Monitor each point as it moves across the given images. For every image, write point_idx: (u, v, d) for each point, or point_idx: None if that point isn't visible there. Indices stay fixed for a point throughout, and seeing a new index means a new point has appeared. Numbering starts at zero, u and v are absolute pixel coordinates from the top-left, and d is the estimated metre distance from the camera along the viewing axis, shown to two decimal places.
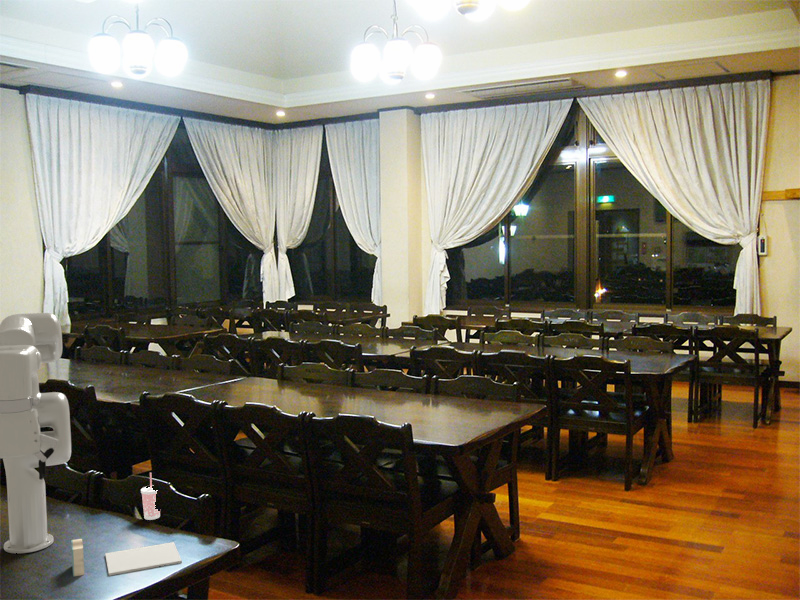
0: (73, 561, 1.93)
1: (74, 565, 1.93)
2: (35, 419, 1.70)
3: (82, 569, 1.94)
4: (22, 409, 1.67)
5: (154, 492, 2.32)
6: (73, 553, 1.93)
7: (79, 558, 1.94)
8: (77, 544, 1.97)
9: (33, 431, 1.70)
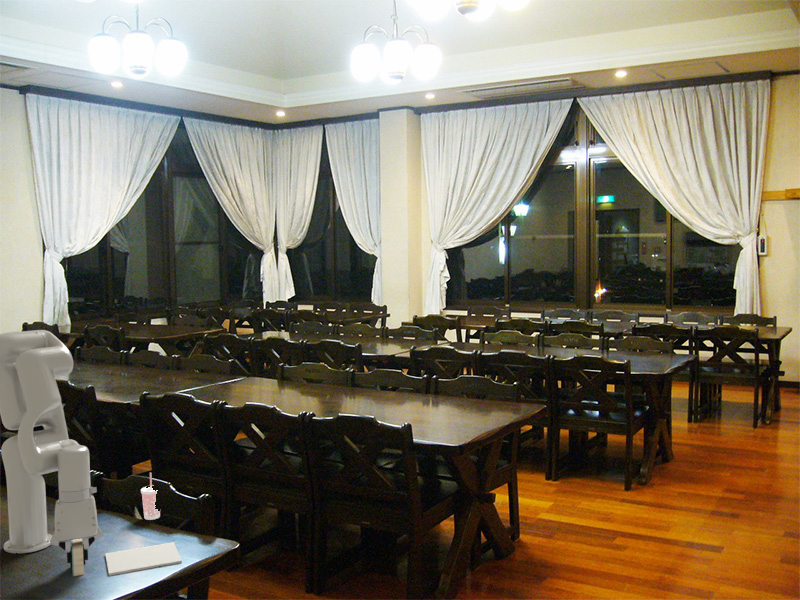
0: (73, 561, 1.93)
1: (74, 565, 1.93)
2: (93, 506, 1.96)
3: (82, 569, 1.94)
4: (83, 498, 1.93)
5: (154, 492, 2.32)
6: (73, 553, 1.93)
7: (79, 557, 1.94)
8: (77, 543, 1.97)
9: (91, 516, 1.96)
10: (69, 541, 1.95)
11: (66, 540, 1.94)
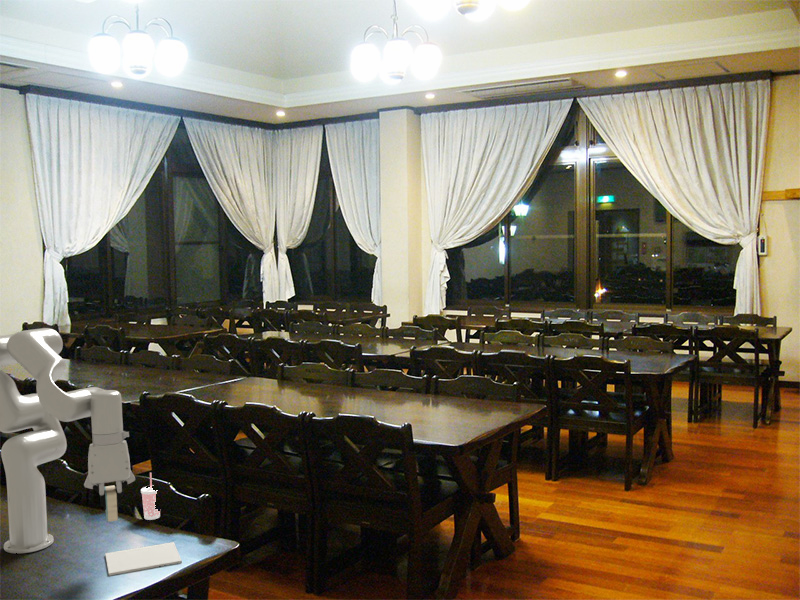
0: (107, 507, 1.96)
1: (108, 511, 1.96)
2: (126, 450, 1.98)
3: (116, 515, 1.97)
4: (116, 441, 1.96)
5: (154, 492, 2.32)
6: (107, 499, 1.95)
7: (113, 504, 1.96)
8: (110, 490, 1.99)
9: (124, 460, 1.98)
10: (103, 484, 1.97)
11: (100, 483, 1.96)
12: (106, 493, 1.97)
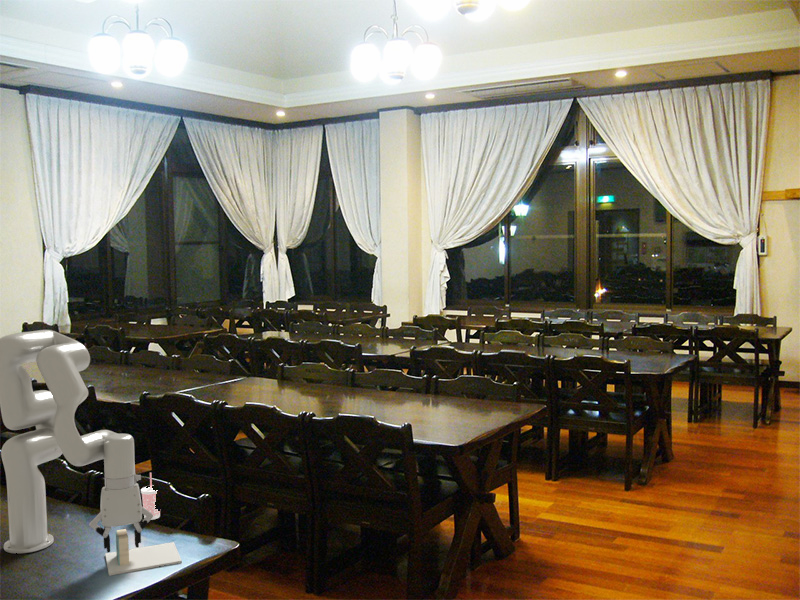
0: (119, 550, 1.98)
1: (120, 554, 1.98)
2: (138, 493, 2.00)
3: (127, 558, 1.99)
4: (128, 485, 1.98)
5: (154, 492, 2.32)
6: (119, 543, 1.98)
7: (125, 547, 1.99)
8: (122, 533, 2.01)
9: (136, 503, 2.00)
10: (109, 527, 1.98)
11: (112, 526, 1.98)
12: (118, 537, 1.99)
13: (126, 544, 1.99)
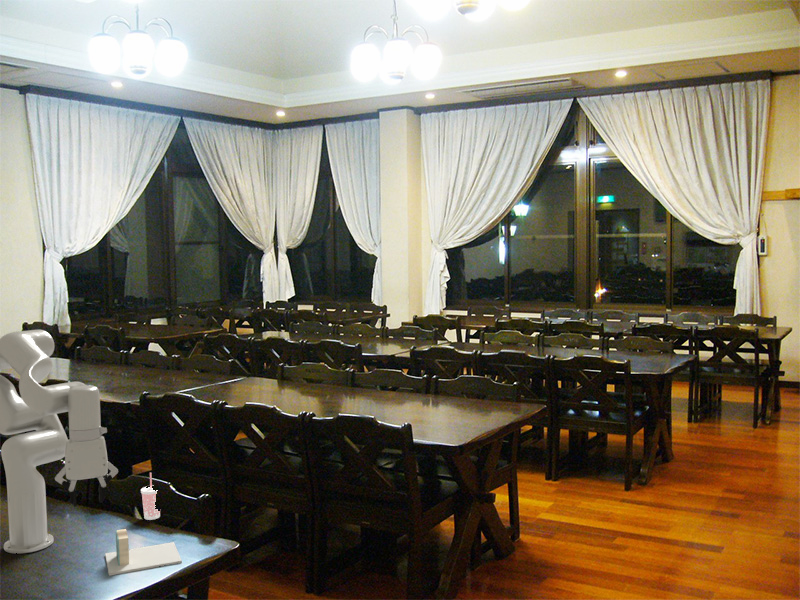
0: (119, 550, 1.98)
1: (120, 554, 1.98)
2: (103, 446, 1.96)
3: (127, 558, 1.99)
4: (93, 437, 1.94)
5: (154, 492, 2.32)
6: (119, 543, 1.98)
7: (125, 547, 1.99)
8: (122, 533, 2.01)
9: (102, 456, 1.96)
10: (75, 481, 1.94)
11: (77, 479, 1.94)
12: (118, 537, 1.99)
13: (126, 544, 1.99)
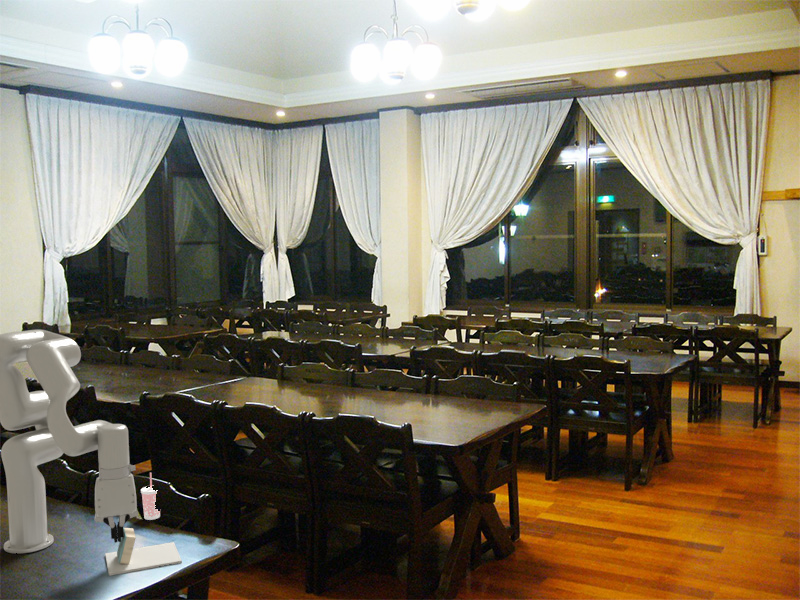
0: (123, 548, 1.98)
1: (123, 552, 1.98)
2: (132, 483, 1.99)
3: (129, 558, 1.99)
4: (122, 476, 1.97)
5: (154, 492, 2.32)
6: (125, 540, 1.99)
7: (130, 546, 1.99)
8: (129, 532, 2.02)
9: (131, 494, 1.99)
10: (111, 517, 1.98)
11: (106, 517, 1.97)
12: (126, 534, 2.00)
13: (132, 543, 1.99)
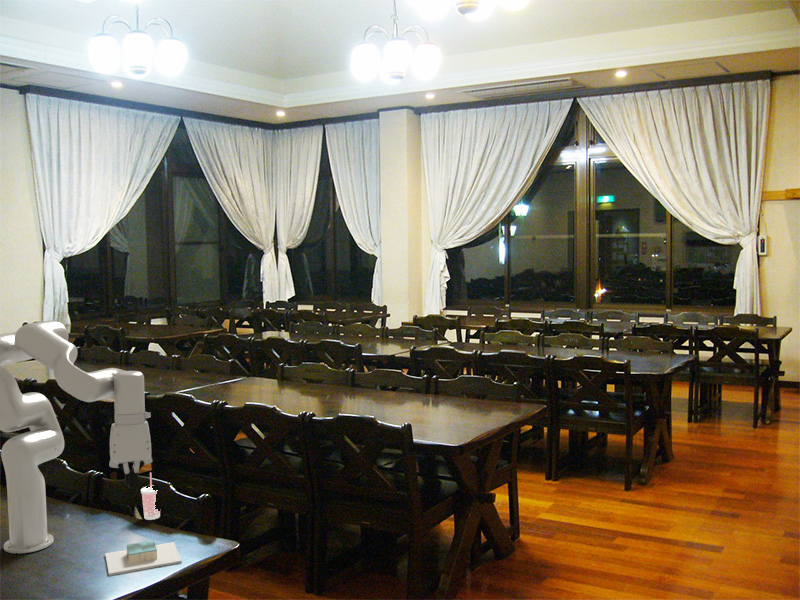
0: (144, 552, 2.01)
1: (140, 553, 2.00)
2: (147, 430, 2.00)
3: (135, 561, 2.00)
4: (138, 422, 1.98)
5: (154, 492, 2.32)
6: (153, 551, 2.02)
7: (147, 557, 2.01)
8: None
9: (146, 440, 2.00)
10: (126, 463, 1.99)
11: (121, 462, 1.98)
12: (156, 548, 2.03)
13: (150, 558, 2.01)
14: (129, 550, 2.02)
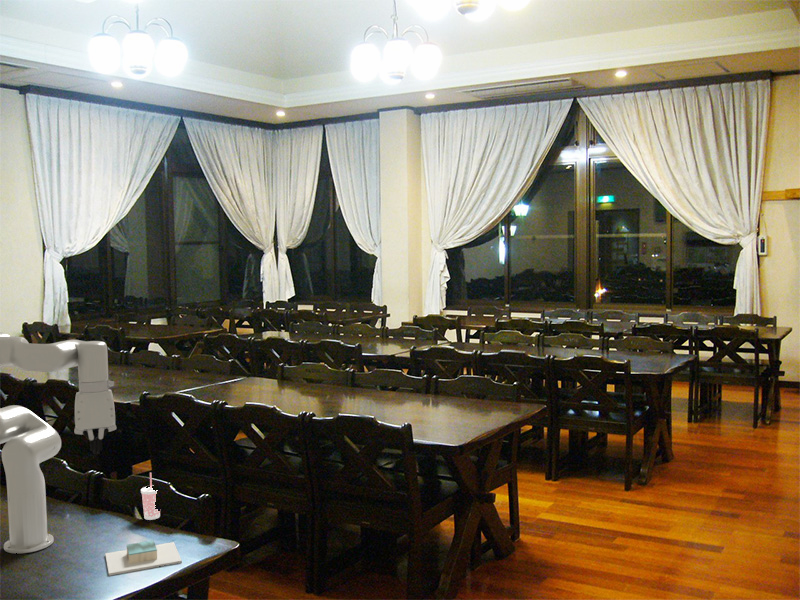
0: (144, 552, 2.01)
1: (140, 553, 2.00)
2: (111, 398, 2.07)
3: (135, 561, 2.00)
4: (101, 389, 2.05)
5: (154, 492, 2.32)
6: (153, 551, 2.02)
7: (147, 557, 2.01)
8: None
9: (109, 408, 2.07)
10: (91, 430, 2.06)
11: (86, 429, 2.05)
12: (156, 548, 2.03)
13: (150, 558, 2.01)
14: (129, 550, 2.02)
